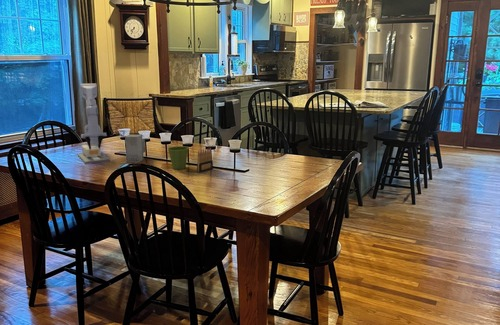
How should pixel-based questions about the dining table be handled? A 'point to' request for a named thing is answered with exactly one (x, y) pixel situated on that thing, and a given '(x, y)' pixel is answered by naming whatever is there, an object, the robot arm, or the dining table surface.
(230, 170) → the dining table surface
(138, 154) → the circuit breaker
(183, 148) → the plant pot
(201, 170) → the ammunition clip
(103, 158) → the rail board
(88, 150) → the module
